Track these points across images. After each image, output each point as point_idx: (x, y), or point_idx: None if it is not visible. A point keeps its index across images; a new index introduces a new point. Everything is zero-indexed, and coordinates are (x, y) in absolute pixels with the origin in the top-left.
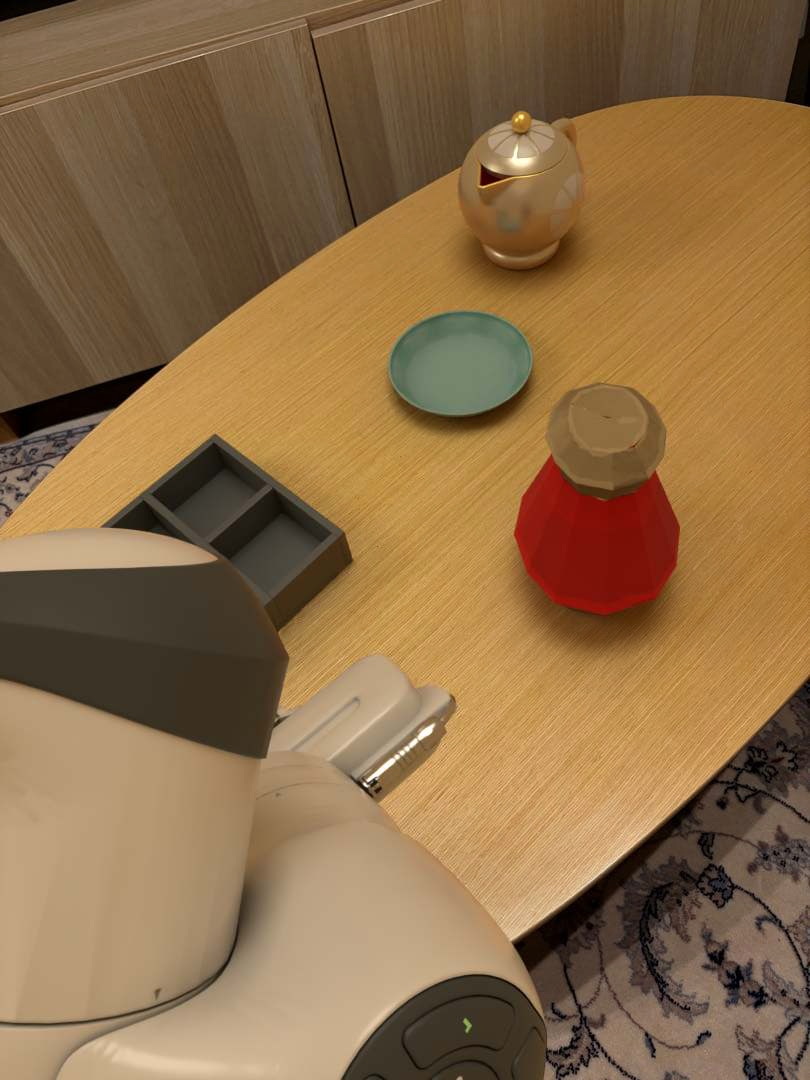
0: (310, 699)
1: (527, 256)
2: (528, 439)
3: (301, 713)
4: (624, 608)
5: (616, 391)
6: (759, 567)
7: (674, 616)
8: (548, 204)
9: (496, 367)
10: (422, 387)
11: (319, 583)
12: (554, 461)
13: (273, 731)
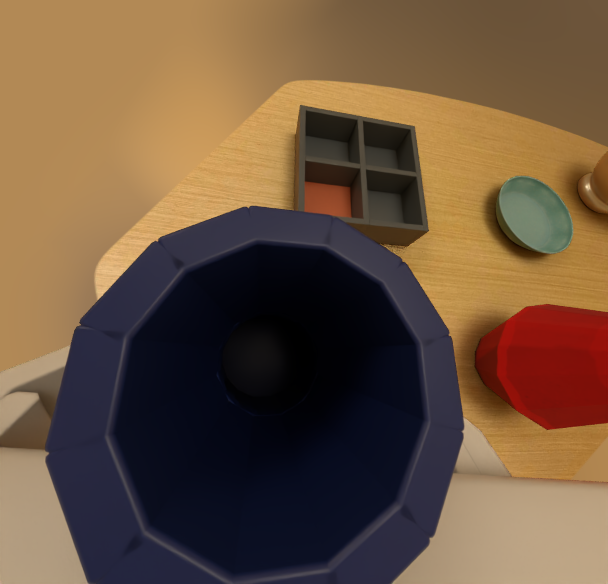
0: (565, 502)
1: (600, 201)
2: (524, 276)
3: (575, 571)
4: (528, 417)
5: None
6: (568, 441)
7: (514, 421)
8: None
9: (540, 232)
10: (503, 207)
11: (387, 240)
12: None
13: (460, 522)
